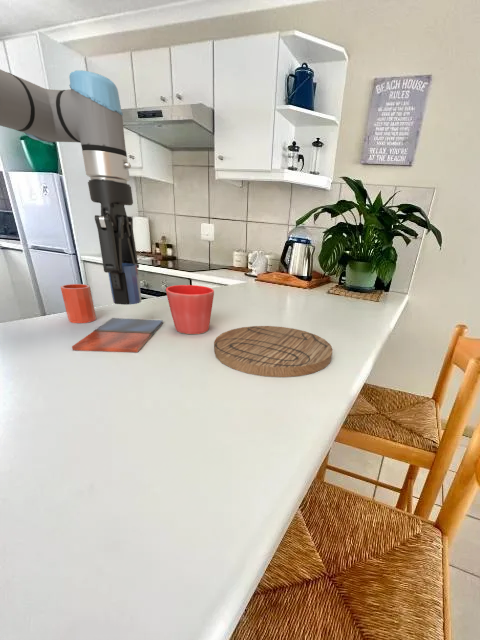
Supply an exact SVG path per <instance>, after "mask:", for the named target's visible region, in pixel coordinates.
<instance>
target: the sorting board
mask: <svg viewBox="0 0 480 640" xmlns="http://www.w3.org/2000/svg"><path fill="white" fill-rule="evenodd" d="M163 324H164V321H163V320H162V319H144V318H143V319H141V318H140V319H139V318H123V317H121V318H119V317H112V318H110V319H108V321H106V322H104V323H102V325H100V326H98V327H97V328H95V329H94V330H93V331H91V332H90V333H89V334H88V335H86V336H84V337H83V338H82V339H80V340H79V341H77V342H76V343H75V344H73V345H71V348H72V351H84V352H85V351H86V352H90V351H91V352H111V353H113V352H115V353H116V352H118V353H139V352H140V351H141V349H142V348H143V347H144V346H145V344H146V343H147V342H148V341H149V340H150V339H151V337H152V336H153V335H154V334H155V333H156V332H157V331H158V330H159V329H160V327H161V326H162V325H163Z"/></svg>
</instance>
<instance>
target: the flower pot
mask: <svg viewBox="0 0 480 640" xmlns="http://www.w3.org/2000/svg"><path fill="white" fill-rule="evenodd" d="M165 293H166V298H167V302H168V305H169V306H168V307H169V310H170V313H171V318H172V320H173V324H174V329H175V331H176V332H178V333H180V334H185V335H201V334H205V333H207V332H209V329H210V323H211V316H212V310H213V303H214V296H215V290H214V289H213V288H212V287H208V286H203V285H202V286H201V285H195V284H175V285H170V286H167V287H166V288H165Z"/></svg>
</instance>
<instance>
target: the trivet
mask: <svg viewBox="0 0 480 640" xmlns="http://www.w3.org/2000/svg"><path fill="white" fill-rule="evenodd" d="M333 350H334V349H333V347H332V345H331V343H330V342H328V341H327V340H326V339H325V338H323V337H321V336H320V335H317V334H315V333H311V332H308V331H306V330H301V329H297V328H292V327H286V326H285V327H284V326H274V325H252V326H243V327H238V328H233V329H229V330H227V331H225V332H222V333H221V334H219V335H218V336H216V338H215V339H214V342H213V352H214V356H215V358H216V359H217V360H218V361H220V363H221V364H223V365H224V366H227V367H229V368H230V369H233V370H236V371H239V372H241V373H245V374H249V375H255V376H261V377H271V378H273V377H274V378H291V377H302V376H307V375H311V374H315V373H317V372H320V371H322V370H325V368H327V367H328V366H329V365H331V361H332V358H333V357H332V356H333Z"/></svg>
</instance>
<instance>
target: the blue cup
mask: <svg viewBox="0 0 480 640" xmlns="http://www.w3.org/2000/svg"><path fill="white" fill-rule="evenodd" d="M138 269H139V268H137V265H136V264H133V263H122V273H125V278H126V285H127V292H128V298H129V304H128V305H137V304H140V303H141V302H142V293H141V292H142V291H141V286H140V277H139V271H138ZM107 274H108V281H109V286H110V292H111V297H112V302H113V303H114V304H115V301H114V295H113V289H112V283H111V277H110V273H107ZM123 305H126V304H122V306H123ZM128 305H126V306H128Z"/></svg>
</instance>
